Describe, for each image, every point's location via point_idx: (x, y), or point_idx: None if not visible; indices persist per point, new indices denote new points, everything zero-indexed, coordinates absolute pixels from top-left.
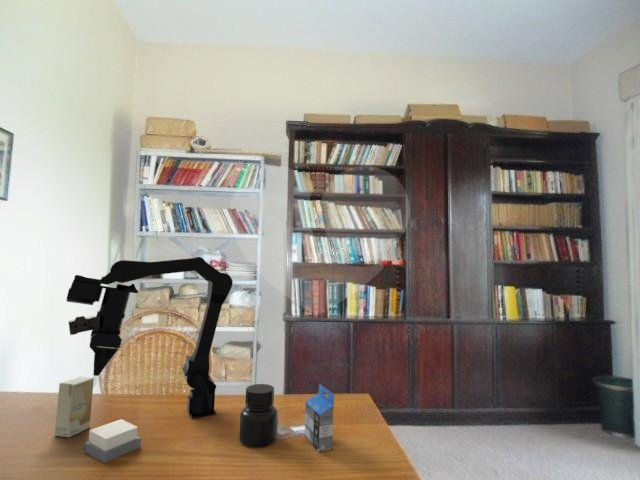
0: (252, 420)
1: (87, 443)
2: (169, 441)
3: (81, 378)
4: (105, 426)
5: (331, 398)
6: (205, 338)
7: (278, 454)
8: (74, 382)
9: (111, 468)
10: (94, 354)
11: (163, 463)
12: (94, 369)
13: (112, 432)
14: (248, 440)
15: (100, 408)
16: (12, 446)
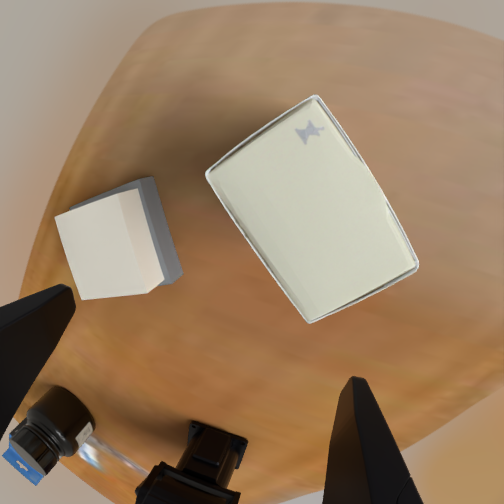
0: (29, 409)
1: (130, 183)
2: (110, 336)
3: (348, 256)
4: (118, 239)
5: (9, 456)
6: None
7: (37, 388)
8: (258, 187)
9: (62, 209)
10: (368, 470)
11: (47, 285)
12: (25, 300)
13: (76, 241)
14: (49, 391)
15: (462, 304)
16: (322, 16)
